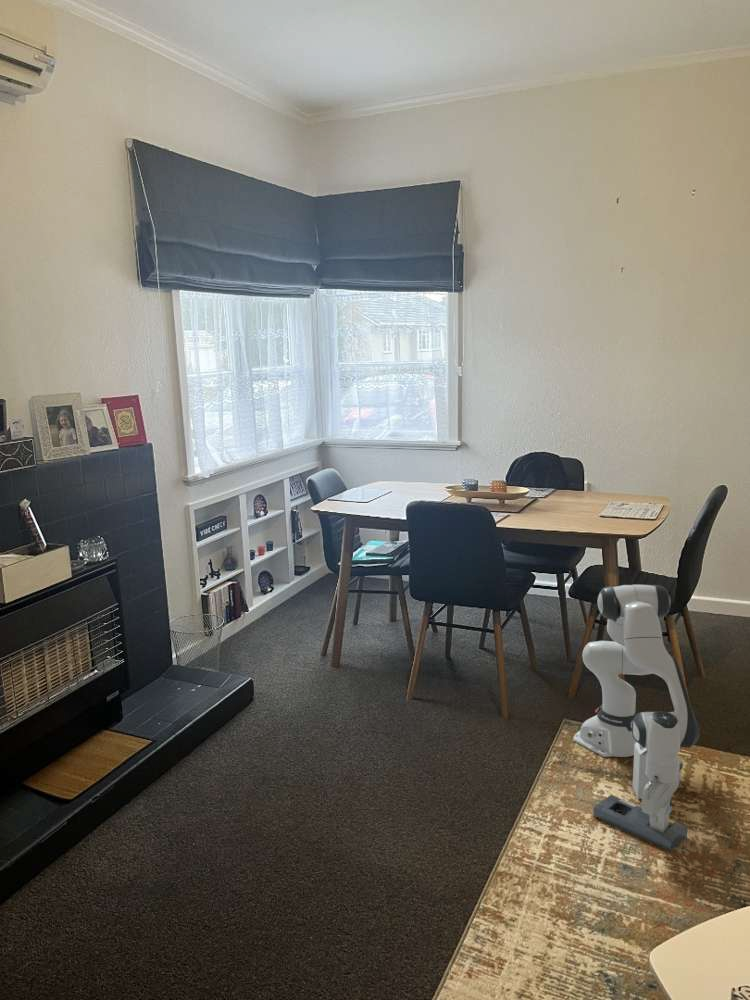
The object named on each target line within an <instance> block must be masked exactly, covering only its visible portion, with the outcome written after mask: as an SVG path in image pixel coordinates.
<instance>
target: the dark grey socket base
mask: <svg viewBox="0 0 750 1000" xmlns="http://www.w3.org/2000/svg"><path fill="white" fill-rule="evenodd" d="M641 807H642V806H640V805H639V806H638V805H637V804H635V803H632V802H630V801H627V800H625V799H624V798H620V797H617V796H616V795H613V794H610V795H608V796H607V797H606V798H604V799H603V800H601V801H600V802H599V803H598V804H596V805H595V806H593V815H594V816H596V817H598V818H600V819H601V821H603V822H604V823H607V824H610V825H611V826H614V827H615V828H618V829H620V830H622V831H625V832H627V833H629V834H630V835H633V836H636V837H637V838H640V839H641V840H644V841H646V842H648V843H651V844H652V845H655V846H657V847H660V848H662V849H664V850H667V852H668V851H669V852H672V851H673V850H674V849H675V848H677V846H678V845H679V844H681V843H682V842H683V841H684V840H685V839H686V838H687V837H688V827H687V825H686V826H685V825H683V824H681V823H679V822H676V821H674V820H672V819H670V818H669V827H668V830H666V831H665V832H664V833H662V832H660V831H658V830H656V829H653V828H651V827H650V821H649V819H650V817H649V814H646V813H644V812H643V811H642V809H641ZM616 810H618V811H619V812H618V811H616ZM615 811H616V812H615ZM620 812H622V813H624V814H622V813H620ZM594 816H593V817H594ZM596 817H595V818H596ZM598 818H597V819H598ZM600 819H599V820H600Z"/></svg>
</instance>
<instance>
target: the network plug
mask: <svg viewBox="0 0 750 1000" xmlns="http://www.w3.org/2000/svg"><path fill="white" fill-rule="evenodd" d="M670 803H671V801H670V802H668V801H666V802H665V804H664V805H663V806H662V807H661V808H660V810H659V811H658V812H657V813H656V815H657V816H658V821H657V822H656V824H653V823H650V827H651V828H653V829H656V830H658V831H660V832H662V833H664V832H665V831H666V830H668V827H669V819H670V814H671V813H672V808H673V807H672V805H670Z"/></svg>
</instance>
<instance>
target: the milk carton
mask: <svg viewBox="0 0 750 1000" xmlns="http://www.w3.org/2000/svg"><path fill="white" fill-rule="evenodd" d="M646 756H647V749H646V748H643V747H642V746H641V745H640V744H639V743H638V742H637V741H636V743H635V745H634V755H633V768H632V769H633V770H632V773H633V774H632V790H633V792H634V794H635V796H636V798H637V800H642V797H643V790H644V787H645V786H646V784H647V783H648V782H649V781H650V778H648V777H647V776H646V774H645V767H646Z"/></svg>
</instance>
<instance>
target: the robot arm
mask: <svg viewBox="0 0 750 1000" xmlns="http://www.w3.org/2000/svg"><path fill="white" fill-rule="evenodd" d="M596 603H597V609H598V610H599V612H600V615H601V616H602V617H603V618H604V619H606V620H607V624H606V631H607V634H608V635H609V637H610V638H611V639H612V641H610V640H597V641H589V642H588V643H587V644H585V646H584V648H583V651H582V655H581V656H582V661H583V662H582V663H584V665H585V667H586V668H587V669H588V670H589V671H590V672H592V673H593V674H594V675H595V676H596V678H597V680H598V681H599V683H600V686H601V692H602V694H601V695H602V704H601V705H600V706H598V707H597V708H596V709H595V713H597V714H596V715H594V716H592V717H589V718H588V719H586V720H585V721H584V722H582V725H581V727H580V730H579V731H577V732H575V734H574V735H573V739H572V740H573V742H575V743H577V744H579V745H581V746H583V747H584V748H586V749H588V750H590V751H592V752H594V753H596V754H598V755H599V756H601V757H603V758H612V757H618V758H628V757H632V756H633V757H634V745H635V743H636V742H638V743H639V744H640V745H641V746H642V747H643V748H646V749H647V756H646V767H645V774H646V776H647V777H648V778H650V781H649V782H648V783H647V784H646V786H645V787H644V790H643V797H642V799H641V806H640V807H641V809H642V811H643V812H644V813H646V814H649V817H650V819H649V821H650V823H653V824H656V822H657V821H658V816H657V815H656V813H657V812H658V811H659V810H660V808H661V807H662V806H663V805H664V804H665V802H666V801H668V802H670V803H671V800H672V797H673V795H674V793H675V792H676V791H677V790H678V788H679V785H680V782H681V781H680V780H681V776H682V775H681V774H682V770H683V767H684V761H683V760H680V759H679V753H680V750H681V748H686V749H690V748H691V747H693V746H694V745H695V744H696V743H697V742H698V740H699V739H700V727H699V724H698V720H697V718H696V715H695V713H694V711H693V708H692V705H691V702H690V698H689V694H688V691H687V688H686V684H685V681H684V677H683V674H682V671H681V669H680V666H679V664H678V661H677V660H676V658H675V657H673V656H672V655H670V654H669V652H668V650H667V649H666V647H665V644H664V640H663V630H662V627H661V622H660V619H661V618H663V617H664V618H665V617H666V616H667V615H668V614H669V612H670V608H671V597H670V595H669V590H667V588H666V587H664V586H663V585H658V584H652V585H651V584H622V585H619V586H612V585H611V586H605V587H603V588H601V590H600V591H599V593H598V596H597V601H596ZM651 674H652V675H653V674H654V675H656V676H658V677H659V678H662V680H663V681H665V683H666V684H667V688H668V693H669V695H670V699H671V702H672V705H673V709H674V711H669V712H668V711H665V710H664V711H663V710H658V711H642V712H638V713H637V711H636V703H637V702H636V700H637V699H636V698H637V693H636V690H635V688H634V686H632V685H631V684H630V683H628V682H627V681H625V680H624V679H622V678H620V677H619V675H636V676H645V675H651Z"/></svg>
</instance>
